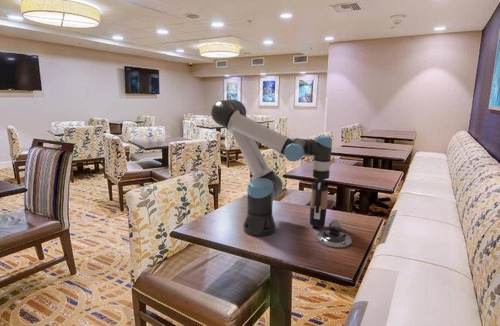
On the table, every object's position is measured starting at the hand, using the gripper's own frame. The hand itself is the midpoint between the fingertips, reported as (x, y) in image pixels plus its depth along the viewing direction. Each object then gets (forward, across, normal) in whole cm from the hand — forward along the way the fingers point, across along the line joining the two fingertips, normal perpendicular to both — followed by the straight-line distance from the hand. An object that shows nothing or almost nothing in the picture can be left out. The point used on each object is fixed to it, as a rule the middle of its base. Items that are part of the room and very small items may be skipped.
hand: (317, 215), depth 152 cm
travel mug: (+4, 0, 0) cm, 4 cm away
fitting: (+6, -9, -9) cm, 13 cm away
